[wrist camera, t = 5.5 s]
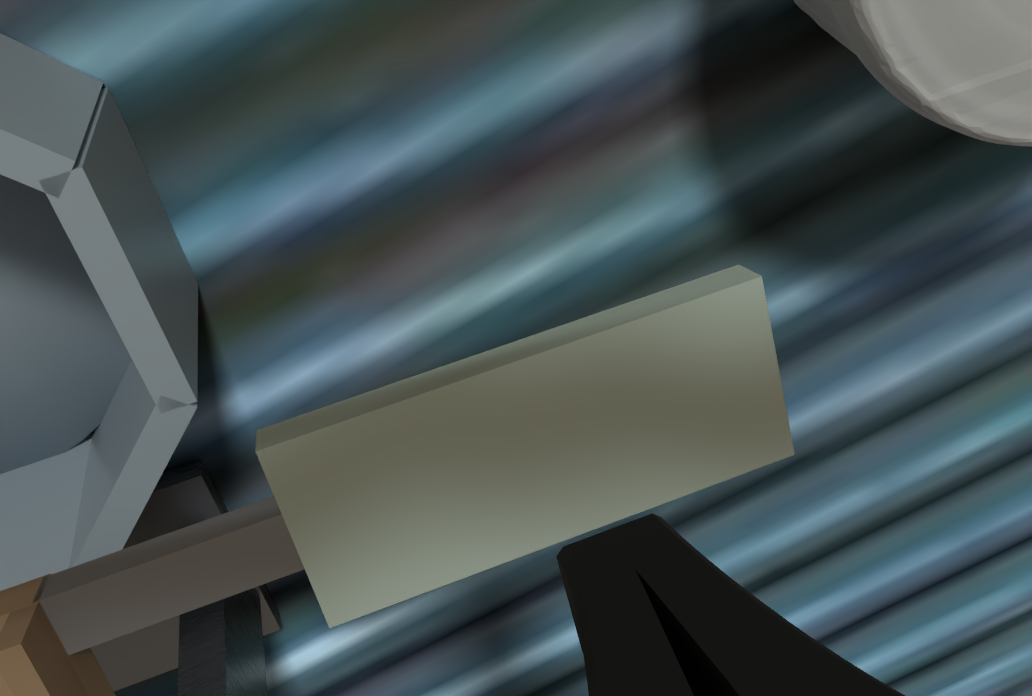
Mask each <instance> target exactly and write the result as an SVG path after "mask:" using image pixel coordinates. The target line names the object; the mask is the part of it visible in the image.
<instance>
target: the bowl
mask: <svg viewBox="0 0 1032 696" xmlns="http://www.w3.org/2000/svg"><path fill="white" fill-rule="evenodd" d="M102 85H103V82H102V81H100V80H98V79H96V78H94V77H91V76H89V75H87V74H85V73H83V72H81V71H79V70H77V69H75V68H72V67H70V66H68V65H66V64H64V63H62V62H60V61H58V60H56V59H53V58H51V57H49V56H47V55H45V54H43V53H41V52H39V51H37V50H34V49H32V48H30V47H28V46H26V45H24V44H22V43H20V42H18V41H15V40H13V39H11V38H9V37H7V36H5V35H3V34H1V33H0V591H2V590H5V589H8V588H10V587H13V586H16V585H19V584H22V583H25V582H27V581H30V580H33V579H36V578H39V577H42V576H44V575H47V574H50V573H51V574H54V573H57V572H60V571H63V570H66V569H68V568H71V567H74V566H77V565H80V564H83V563H85V562H88V561H91V560H94V559H97V558H100V557H102V556H105V555H108V554H111V553H114V552H117V551H119V550H122V549H123V547H124V545H125V543H126V541H127V540H128V538H129V536H130V534H131V532H132V530H133V528H134V526H135V524H136V522H137V521H138V519H139V517H140V515H141V513H142V511H143V509H144V507H145V505H146V504H147V502H148V500H149V498H150V496H151V494H152V492H153V490H154V488H155V487H156V485H157V483H158V481H159V479H160V477H161V475H162V473H163V471H164V470H165V468H166V466H167V464H168V462H169V460H170V458H171V456H172V454H173V453H174V451H175V449H176V447H177V445H178V443H179V441H180V439H181V437H182V435H183V434H184V432H185V430H186V428H187V426H188V424H189V422H190V420H191V418H192V417H193V415H194V413H195V411H196V409H197V378H198V283H197V281H196V279H195V277H194V274H193V272H192V270H191V268H190V266H189V263H188V261H187V259H186V257H185V255H184V252H183V250H182V248H181V246H180V244H179V241H178V239H177V237H176V235H175V233H174V230H173V228H172V226H171V224H170V221H169V219H168V217H167V215H166V213H165V210H164V208H163V206H162V204H161V202H160V199H159V197H158V195H157V193H156V191H155V188H154V186H153V184H152V182H151V180H150V177H149V175H148V173H147V171H146V169H145V166H144V164H143V162H142V160H141V158H140V155H139V153H138V151H137V149H136V147H135V144H134V142H133V140H132V138H131V136H130V133H129V131H128V129H127V127H126V125H125V122H124V120H123V118H122V116H121V114H120V111H119V109H118V107H117V105H116V103H115V100H114V98H113V96H112V94H111V92H110V89H109V87H108V88H104V89H101V87H102ZM93 430H94V431H93ZM92 431H93V433H91V432H92ZM90 433H91V434H90Z"/></svg>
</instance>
